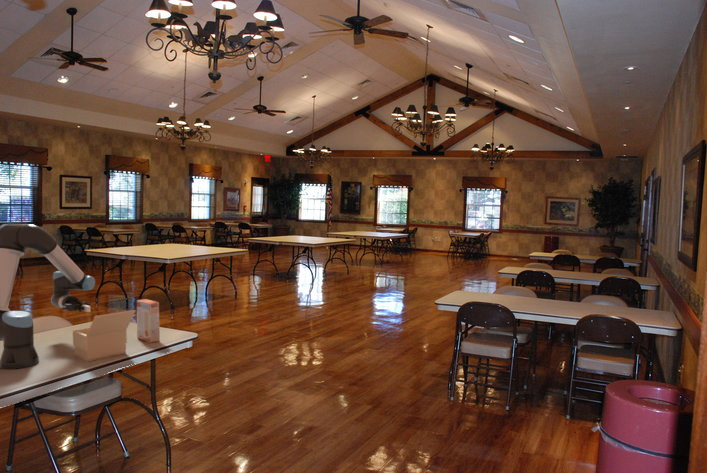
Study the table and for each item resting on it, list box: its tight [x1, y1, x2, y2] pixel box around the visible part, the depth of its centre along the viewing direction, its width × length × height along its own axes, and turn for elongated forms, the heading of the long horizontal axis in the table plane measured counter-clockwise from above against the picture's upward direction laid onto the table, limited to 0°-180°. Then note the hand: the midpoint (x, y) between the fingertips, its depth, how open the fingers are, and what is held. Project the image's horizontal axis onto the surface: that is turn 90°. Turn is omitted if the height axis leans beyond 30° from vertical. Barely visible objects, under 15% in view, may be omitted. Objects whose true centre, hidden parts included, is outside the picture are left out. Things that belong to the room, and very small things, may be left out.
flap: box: [86, 309, 136, 337], centre depth 254 cm, size 14×19×1 cm
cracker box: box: [136, 298, 161, 344], centre depth 289 cm, size 14×6×21 cm, turn 47°
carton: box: [72, 327, 128, 363], centre depth 262 cm, size 15×19×12 cm
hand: (89, 309), depth 269 cm, fingers closed
